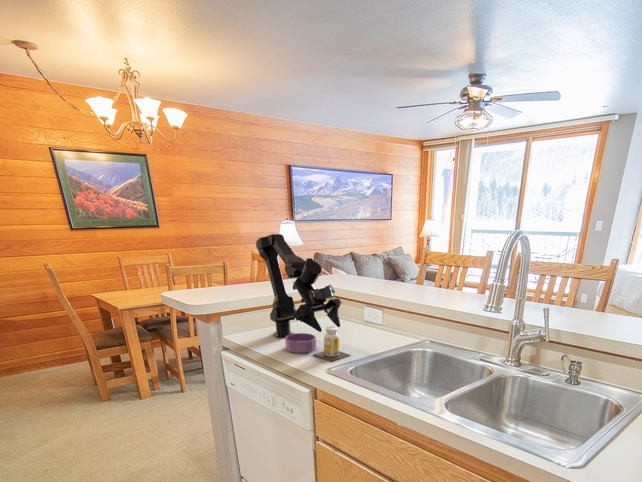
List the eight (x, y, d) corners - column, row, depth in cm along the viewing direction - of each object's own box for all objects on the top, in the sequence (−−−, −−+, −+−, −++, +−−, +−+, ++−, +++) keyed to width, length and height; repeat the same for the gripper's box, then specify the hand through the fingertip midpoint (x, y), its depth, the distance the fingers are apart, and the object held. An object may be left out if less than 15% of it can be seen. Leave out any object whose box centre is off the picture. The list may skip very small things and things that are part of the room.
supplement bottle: (324, 357, 143) (324, 330, 139) (323, 352, 148) (322, 326, 144) (339, 356, 144) (340, 330, 140) (337, 351, 149) (338, 326, 145)
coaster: (313, 355, 146) (313, 354, 146) (331, 349, 152) (331, 349, 152) (332, 361, 141) (331, 360, 140) (349, 355, 147) (349, 354, 147)
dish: (283, 345, 155) (282, 334, 153) (312, 343, 159) (311, 332, 157) (288, 355, 145) (288, 342, 144) (319, 352, 149) (319, 340, 147)
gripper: (298, 280, 132) (322, 320, 130) (338, 274, 145) (360, 311, 143) (283, 301, 140) (306, 339, 138) (322, 294, 153) (343, 328, 151)
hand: (330, 328), depth 143 cm, fingers open, 9 cm apart
